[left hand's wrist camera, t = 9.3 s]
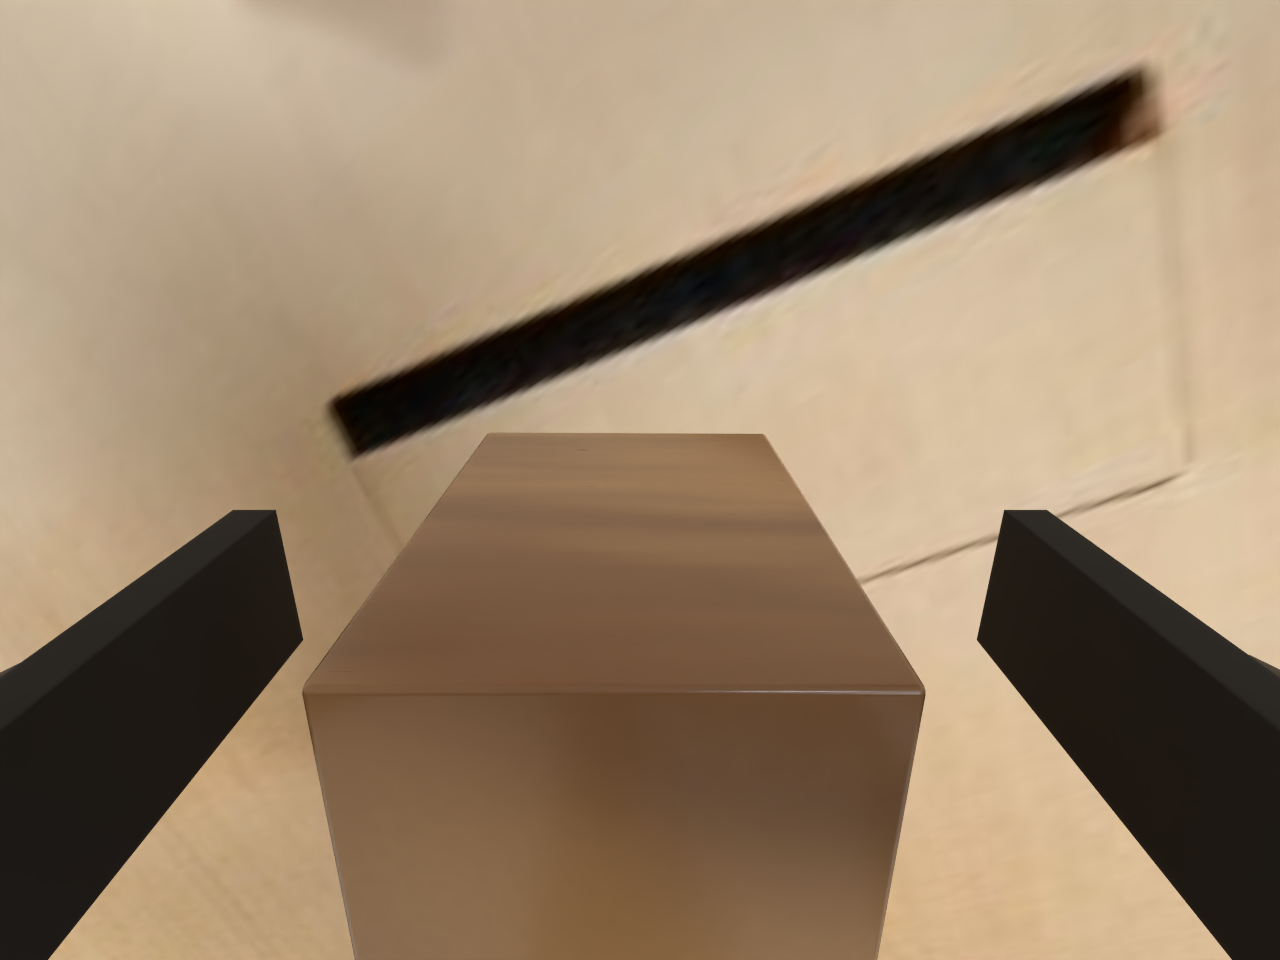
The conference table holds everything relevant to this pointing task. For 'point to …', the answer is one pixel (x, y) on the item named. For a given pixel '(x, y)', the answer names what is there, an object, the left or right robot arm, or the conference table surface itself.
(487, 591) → the bar
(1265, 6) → the conference table surface
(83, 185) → the conference table surface
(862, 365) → the conference table surface
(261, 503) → the conference table surface
